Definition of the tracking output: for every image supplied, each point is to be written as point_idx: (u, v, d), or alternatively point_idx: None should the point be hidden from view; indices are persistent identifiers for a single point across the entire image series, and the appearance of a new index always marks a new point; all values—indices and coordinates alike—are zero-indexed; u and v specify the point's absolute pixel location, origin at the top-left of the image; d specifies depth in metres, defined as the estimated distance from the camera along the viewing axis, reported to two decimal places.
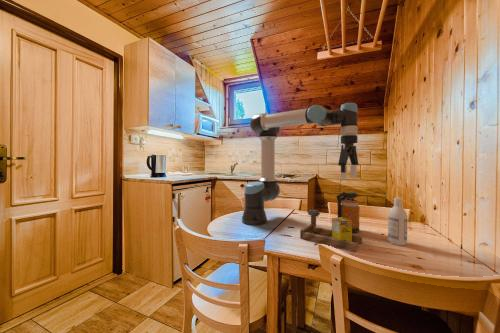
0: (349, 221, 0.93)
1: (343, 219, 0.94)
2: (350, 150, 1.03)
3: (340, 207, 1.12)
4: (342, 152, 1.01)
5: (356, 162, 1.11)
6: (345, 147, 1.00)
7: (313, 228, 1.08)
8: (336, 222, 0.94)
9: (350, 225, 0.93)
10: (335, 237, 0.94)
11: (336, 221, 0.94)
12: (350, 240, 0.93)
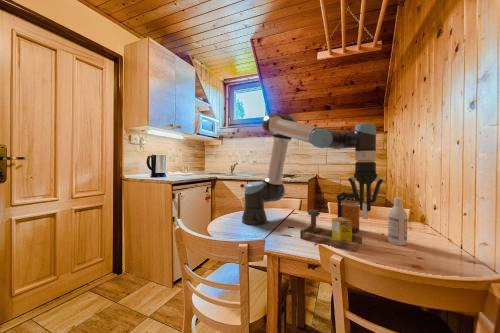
0: (349, 221, 0.93)
1: (343, 219, 0.94)
2: (359, 182, 0.88)
3: (340, 207, 1.12)
4: None
5: (368, 200, 0.87)
6: None
7: (313, 228, 1.08)
8: (336, 222, 0.94)
9: (350, 225, 0.93)
10: (335, 237, 0.94)
11: (336, 221, 0.94)
12: (350, 240, 0.93)
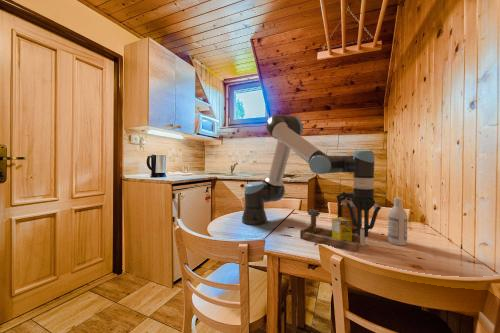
0: (349, 221, 0.93)
1: (343, 219, 0.94)
2: (357, 207, 0.89)
3: (340, 207, 1.12)
4: None
5: (366, 227, 0.88)
6: None
7: (313, 228, 1.08)
8: (336, 222, 0.94)
9: (350, 225, 0.93)
10: (335, 237, 0.94)
11: (336, 221, 0.94)
12: (350, 240, 0.93)
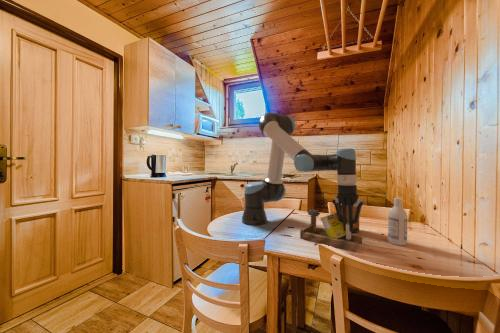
0: (335, 214, 0.97)
1: (330, 214, 0.98)
2: (341, 203, 0.93)
3: (340, 207, 1.12)
4: None
5: (351, 221, 0.91)
6: None
7: (313, 228, 1.08)
8: (324, 220, 0.98)
9: None
10: (330, 234, 0.96)
11: (324, 218, 0.98)
12: (344, 232, 0.94)
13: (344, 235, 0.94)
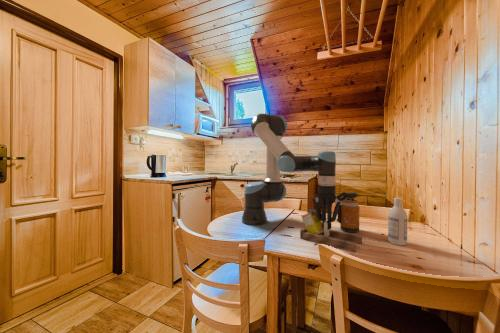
0: None
1: None
2: (321, 203, 0.99)
3: (340, 207, 1.12)
4: None
5: (329, 220, 0.97)
6: None
7: None
8: (306, 216, 1.02)
9: None
10: (312, 231, 1.00)
11: (306, 215, 1.02)
12: (323, 228, 1.01)
13: (323, 231, 1.00)
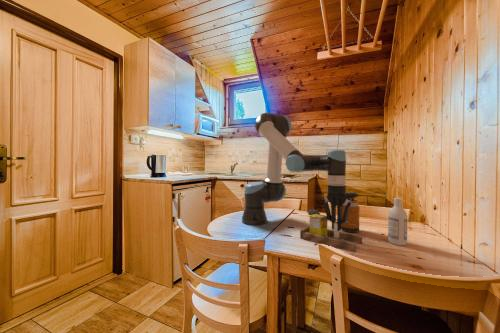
0: (326, 217, 1.00)
1: (320, 215, 1.00)
2: (331, 203, 0.96)
3: None
4: None
5: (339, 221, 0.94)
6: None
7: None
8: (315, 219, 0.99)
9: (326, 220, 1.00)
10: None
11: (315, 218, 0.99)
12: (326, 234, 1.00)
13: None
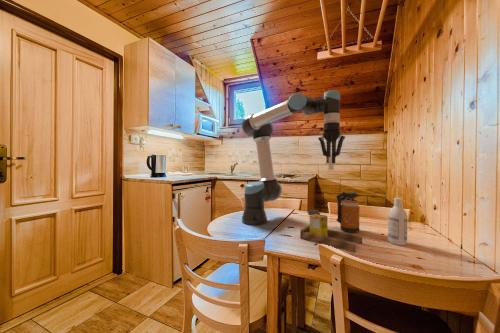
0: (326, 217, 1.00)
1: (320, 215, 1.00)
2: (326, 139, 1.08)
3: (340, 207, 1.12)
4: None
5: (333, 154, 1.06)
6: None
7: None
8: (315, 219, 0.99)
9: (326, 220, 1.00)
10: None
11: (315, 218, 0.99)
12: (326, 234, 1.00)
13: None
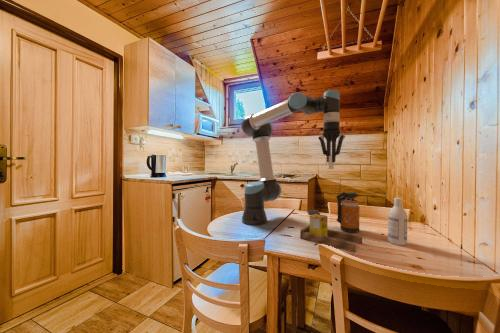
0: (326, 217, 1.00)
1: (320, 215, 1.00)
2: (326, 138, 1.08)
3: (340, 207, 1.12)
4: None
5: (333, 153, 1.07)
6: None
7: None
8: (315, 219, 0.99)
9: (326, 220, 1.00)
10: None
11: (315, 218, 0.99)
12: (326, 234, 1.00)
13: None
